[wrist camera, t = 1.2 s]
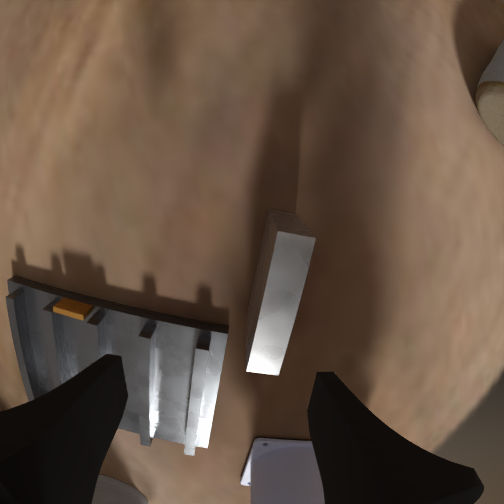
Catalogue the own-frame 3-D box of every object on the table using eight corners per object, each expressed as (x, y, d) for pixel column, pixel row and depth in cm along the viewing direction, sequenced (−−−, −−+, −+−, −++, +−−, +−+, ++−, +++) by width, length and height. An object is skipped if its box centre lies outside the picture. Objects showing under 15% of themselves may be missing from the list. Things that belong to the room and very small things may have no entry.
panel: (295, 213, 19) (315, 238, 13) (270, 318, 21) (278, 375, 15) (268, 208, 19) (277, 231, 13) (246, 315, 21) (246, 371, 15)
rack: (228, 326, 21) (226, 346, 18) (208, 439, 24) (205, 460, 22) (14, 275, 20) (-4, 287, 17) (35, 390, 23) (23, 405, 20)
